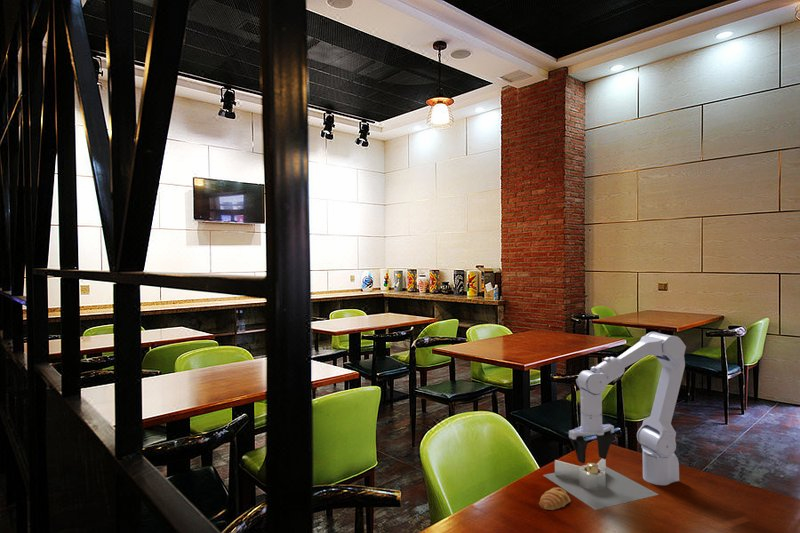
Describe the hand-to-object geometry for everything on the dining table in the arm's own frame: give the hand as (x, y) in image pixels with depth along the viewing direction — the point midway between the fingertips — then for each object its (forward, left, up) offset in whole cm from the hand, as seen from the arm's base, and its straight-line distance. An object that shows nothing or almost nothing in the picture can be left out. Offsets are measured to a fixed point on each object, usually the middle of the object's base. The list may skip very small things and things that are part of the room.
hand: (592, 460), depth 137 cm
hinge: (-2, -3, -7) cm, 8 cm away
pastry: (+16, +3, -9) cm, 19 cm away
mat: (-2, 0, -8) cm, 9 cm away
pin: (0, 0, -7) cm, 7 cm away
